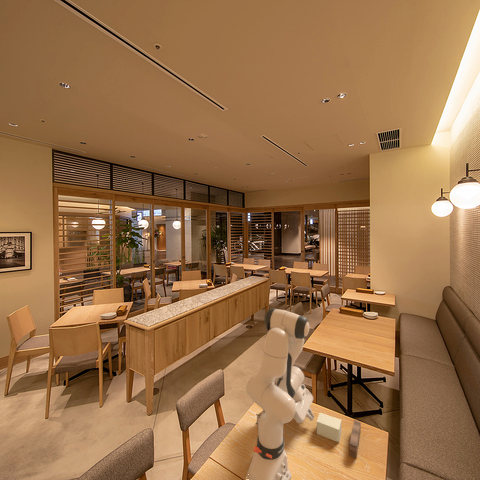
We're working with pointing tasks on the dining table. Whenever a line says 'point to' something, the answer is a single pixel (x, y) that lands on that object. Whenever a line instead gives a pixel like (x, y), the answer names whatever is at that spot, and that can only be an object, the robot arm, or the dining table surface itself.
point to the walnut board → (355, 438)
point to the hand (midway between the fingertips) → (313, 418)
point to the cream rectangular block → (329, 427)
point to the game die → (259, 415)
